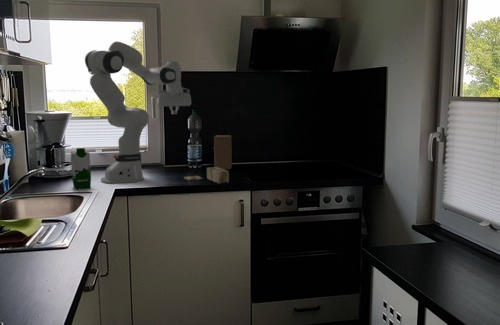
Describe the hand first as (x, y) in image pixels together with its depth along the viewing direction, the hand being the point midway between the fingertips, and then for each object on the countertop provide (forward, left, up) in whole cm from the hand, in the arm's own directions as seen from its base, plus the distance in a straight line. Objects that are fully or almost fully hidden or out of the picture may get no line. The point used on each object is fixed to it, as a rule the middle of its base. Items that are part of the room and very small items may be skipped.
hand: (174, 114), depth 286 cm
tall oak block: (+11, -29, -31) cm, 44 cm away
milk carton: (-57, -23, -34) cm, 70 cm away
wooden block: (+30, -2, -34) cm, 46 cm away
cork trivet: (+1, -26, -34) cm, 43 cm away
